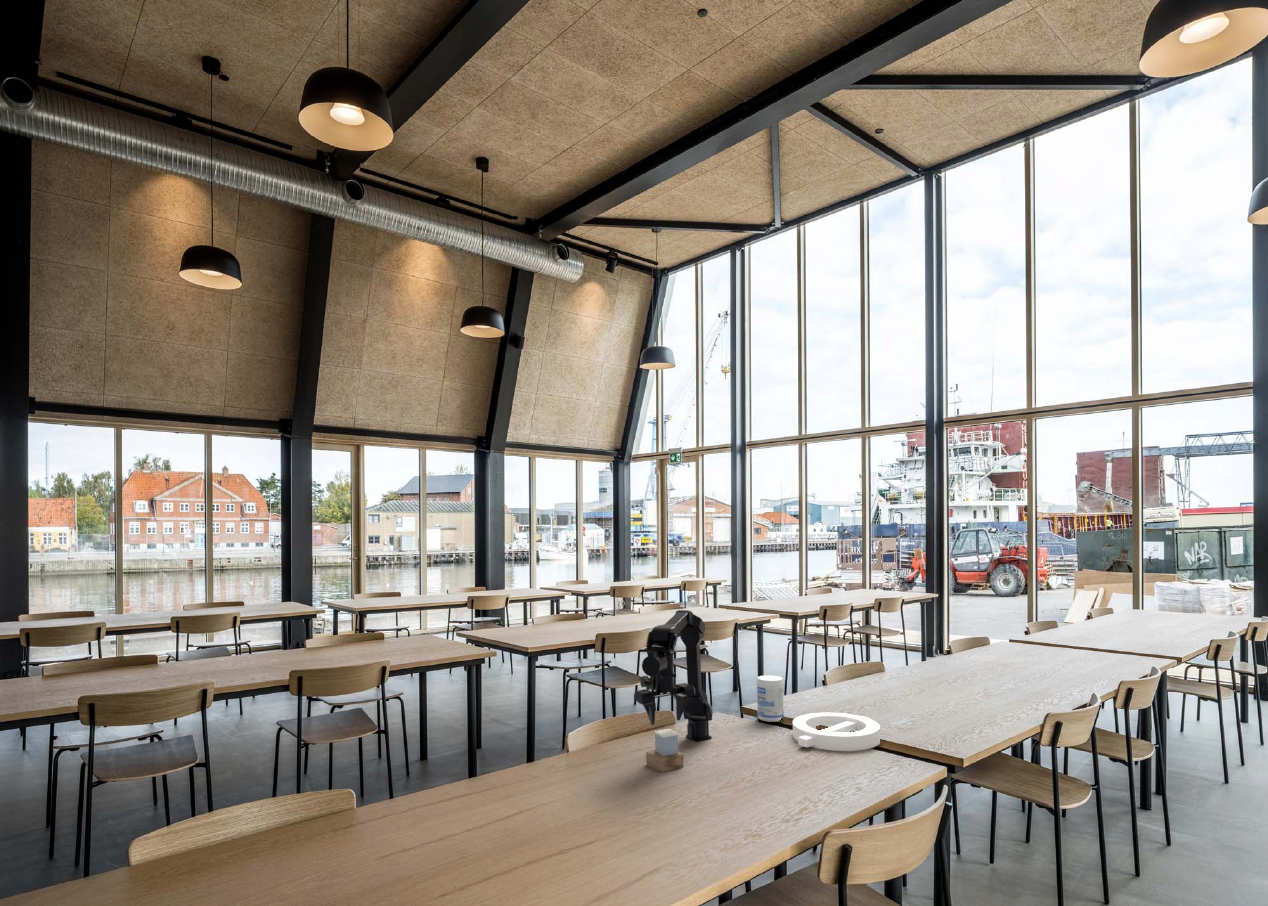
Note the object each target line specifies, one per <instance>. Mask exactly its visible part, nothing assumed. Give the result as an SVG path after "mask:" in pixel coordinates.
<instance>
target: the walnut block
mask: <svg viewBox="0 0 1268 906" xmlns="http://www.w3.org/2000/svg"><path fill="white" fill-rule="evenodd" d="M645 755H646V756H645V757H646V761H645V762H646V766H648V767H650V768H652V769H654V770H656V771H658V772H660V773H663V772H664V773H665V772H669V771H671V770H672V771H673V770H676V769H680V768H684V753H682V752H681V751H678V754H673V755H668V756H662V755H660V754H659V753H657V752H655V749H652V750H649V751H645Z"/></svg>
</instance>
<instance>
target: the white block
mask: <svg viewBox="0 0 1268 906" xmlns="http://www.w3.org/2000/svg"><path fill="white" fill-rule="evenodd" d="M678 735H679V732H677V731H675V730H673V729H671V728H665V729H659V730H658V729H657V730H654V746H655V747H654V748H655V749H654V750H655V752H657V753H659V754H660V755H662V756H668V755H673V754H678V752H679V740H678Z"/></svg>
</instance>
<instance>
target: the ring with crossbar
mask: <svg viewBox="0 0 1268 906" xmlns="http://www.w3.org/2000/svg"><path fill="white" fill-rule="evenodd" d="M819 725H834V726H831V727H828V728H825V729H821V730H817V729H816V726H819ZM852 730H860V731H855V732H853V731H852ZM850 731H851V732H850ZM792 736H793V739H794V740H795V741H796V742H798V746H800V747H804V748H810V747H811V748H814V749H820V750H826V751H837V752H857V751H858V752H859V751H864V750H869V749H873V748H875V747H877V746H879V745H880V744H881V742H880V738H881V725H880V724H879V723H878V722H877V721H875V720H873V719H871V717H868V716H863V715H857V714H852V713H844V712H813V713H806V714H803V715H798V716H797V717H795V718H793V719H792Z"/></svg>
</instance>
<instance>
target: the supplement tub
mask: <svg viewBox="0 0 1268 906" xmlns="http://www.w3.org/2000/svg"><path fill="white" fill-rule="evenodd" d="M784 698H785V697H784V681H783V677H782V676H777V675H768V674H767V675H760V676H757V680H756V705H757V712H756V713H757V718H758V719H759V720H760V721H763V722H768V723H771V722H774V723H776V722H777V723H778V722H781V721H782V720H781V718H782V716H784V717H785V707H784V705H785V704H784V702H785V699H784ZM780 720H781V721H780Z"/></svg>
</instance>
